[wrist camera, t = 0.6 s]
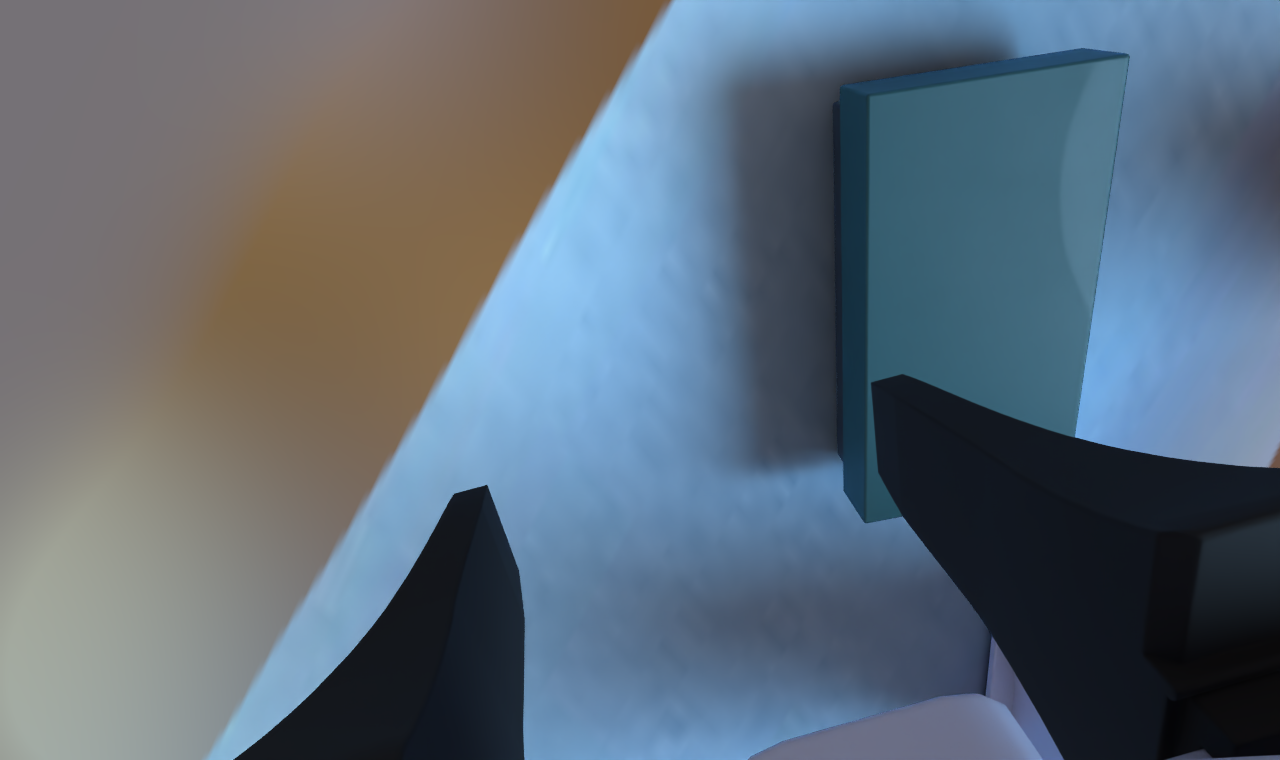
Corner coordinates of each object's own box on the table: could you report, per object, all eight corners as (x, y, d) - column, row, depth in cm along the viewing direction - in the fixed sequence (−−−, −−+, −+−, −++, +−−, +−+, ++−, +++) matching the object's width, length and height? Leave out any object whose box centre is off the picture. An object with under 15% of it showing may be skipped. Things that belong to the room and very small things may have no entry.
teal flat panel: (1014, 435, 27) (1069, 485, 25) (829, 470, 27) (864, 525, 24) (1055, 44, 22) (1131, 53, 19) (821, 79, 21) (866, 94, 19)
